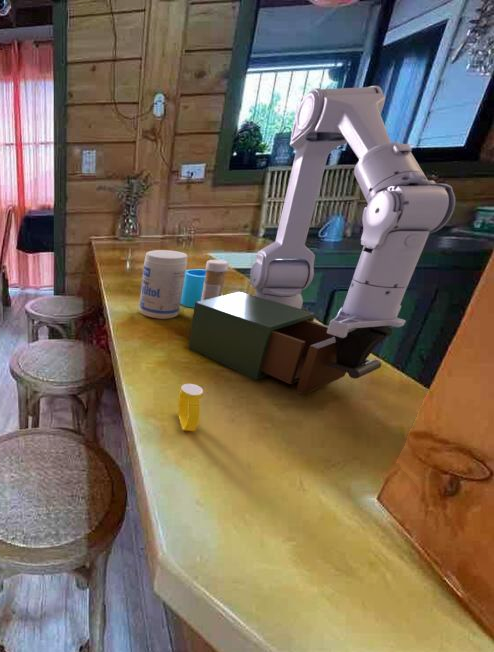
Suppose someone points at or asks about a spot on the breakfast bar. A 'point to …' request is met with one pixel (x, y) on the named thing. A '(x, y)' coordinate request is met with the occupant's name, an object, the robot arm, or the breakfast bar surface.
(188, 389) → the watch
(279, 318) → the cabinet
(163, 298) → the supplement tub
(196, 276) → the mug
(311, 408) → the breakfast bar surface
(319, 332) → the drawer
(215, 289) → the sprinkles bottle
